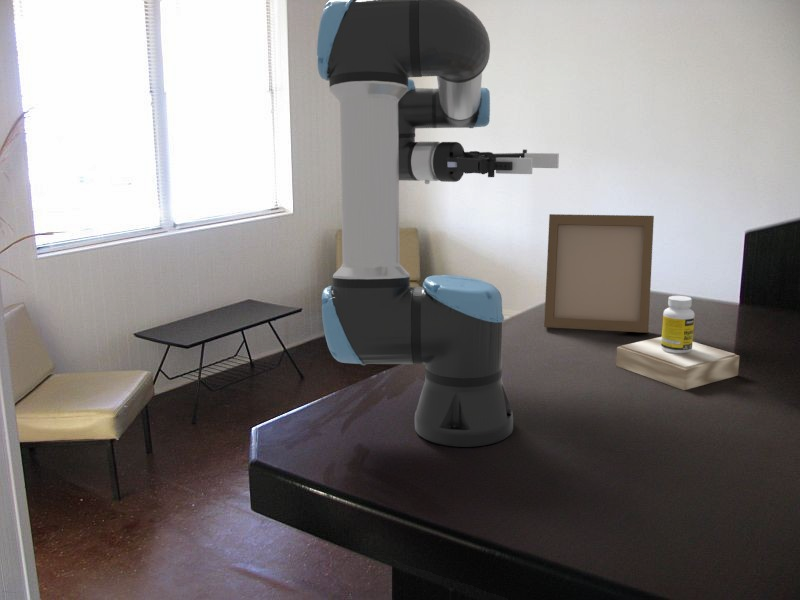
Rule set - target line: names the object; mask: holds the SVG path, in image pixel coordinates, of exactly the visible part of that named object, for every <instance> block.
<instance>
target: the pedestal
mask: <svg viewBox="0 0 800 600" xmlns="http://www.w3.org/2000/svg"><path fill="white" fill-rule="evenodd" d="M661 339H662V336H659V337H654V338H650V339H645V340H640V341H636V342H632V343H627V344H622V345H620V346H617V347H616V358H615V359H616V362H615V366H616V367H618V368H621V369H624V370H627V371H629V372H632V373H635V374H638V375H641V376H644V377H646V378H649V379H651V380H655V381H657V382H660V383H663V384H666V385H668V386H671V387H673V388H677V389H679V390H682V391H687V390H691V389H694V388H698V387H701V386H704V385H708V384H712V383H715V382H719V381H723V380H726V379H730V378H734V377H737V376H739V367H740V355H739V354H738V355H737V354H736V353H734V352H730V351H726V350H723V349H719V348H716V347H712V346H709V345H706V344H701V343H700V342H696V341H693V343H692V350H691V351H690V352H688V353H682V354H679V353H671V352H667V351H664V350H663V349H662V348H661Z"/></svg>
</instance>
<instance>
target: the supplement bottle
mask: <svg viewBox="0 0 800 600" xmlns="http://www.w3.org/2000/svg"><path fill="white" fill-rule="evenodd" d="M692 300H693V298H691V297H690V296H685V295H671V296H668V301H667V302H668V303H667V305H668V307H667V308H665V309H664V310H663V312H662V313H663V314H662V326H661V327H662V328H661V337H662V339H661V348H662V349H663V350H664V351H667V352H671V353H679V354H682V353H688V352H690V351H691V350H692V343H693V342H694V329H695V328H694V327H695V319H696V318H695V316H696V315H695V311H693V309H691V307H692V304H693V301H692Z"/></svg>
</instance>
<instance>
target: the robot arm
mask: <svg viewBox="0 0 800 600" xmlns="http://www.w3.org/2000/svg"><path fill="white" fill-rule="evenodd" d="M316 44H317V45H316V46H317V47H316V54H317V55H316V56H317V71H318V75H319V77H320V78H321V79H323V80H325V81H329V84H328V85H329V92H330V93H331V94H332V95H333V96H334V97H335V98H336V99H337V100H338V102H339V105H340V106H339V109H340V110H339V111H340V117H339V118H340V120H339V121H340V173H341V174H340V177H341V179H340V180H341V184H340V185H341V188H340V189H341V236H342V239H341V240H342V241H341V242H342V243H341V246H342V247H341V248H342V262H341V266H340V267H339V268H338V269H337V270H336V271H335V272H334V274H332V285H329V286H327V287H325V288H324V289H323V291H322V294H321V303H322V304H321V315H322V317H321V318H322V319H321V320H322V325H323V332H324V336H325V341H326V343H327V348H328V350H329V352H330V354H331V356H332V358H334V359H335V360H336V361H337V362H339V363H342V364H343V363H344V364H356V365H358V364H359V365H361V366H367V365H374V364H375V365H390V364H391V365H424V370H425V371H424V372H425V377H424V384H423V386H422V390H421V393H420V396H419V400H418V402H417V407H416V408H415V412H414V430H415V432H416V434H417V435H418V436H419V437H421V439H424V440H426V441H427V442H428V441H429V442H432V443H434V444H438V445H442V446H448V447H449V446H450V447H461V448H462V447H463V448H471V447H472V448H473V447H481V446H487V445H492V444H495V443H499V442H501V441H504V440H505V439H507V438H508V437H509V436H510V435H511V434H512V433H513V430H514V415H513V414H514V413H513V410H512V407H511V404H510V402H509V401H510V400H509V398H508V395H507V393H506V392H507V391H506V388H505V386H504V383H503V382H504V381H503V322H504V319H505V318H504V317H505V316H504V314H503V299H502V298H503V296H502V293H501V292H500V290H499V289H498V288H497V287H496V286H495V285H493V284H491V283H489V282H487V281H485V280H482V279H478V278H475V277H474V278H473V277H468V276H462V275H453V274H452V275H451V274H441V275H437V274H436V275H435V274H433V275H429V276H427V277H426V278H425V279H424V281H423V283H422V286H411V283H410V282H411V275H410V273H409V272H408V271H407V270H406V269H405V268H404V266H402V265H401V260H400V259H401V258H400V251H401V250H400V181H417V182H418V181H419V182H420V181H423V182H424V184H425V185H429V184H430V182H438V181H440V182H448V183H449V182H451V183H456V182H459V181H460V180H462V177H463V176H464V174H466V175H467V174H479V175H485V174H487V178H495V174H499V175H500V174H506V175H507V174H508V175H509V174H511V175H512V174H513V175H533V169H559V167H560V165H559V163H560V162H559V161H560V160H559V158H560V154H559V153H557V152H556V153H554V152H553V153H550V152H549V153H548V152H528V149H522V152H510V153H507V152H506V153H503V152H502V153H493V152H490V151H485V152H484V151H481V152H480V151H477V150H473V151H465V149H464V147H463V144H461V143H460V142H459V141H458V142H457V141H441V142H440V141H416V129H417V130H418V129H455V128H456V129H457V128H458V129H461V128H462V129H463V128H467V129H474V128H483V127H487V126H488V125H489V124H490V121H491V120H490V119H491V118H490V115H491V113H490V112H491V109H490V108H491V97H490V96H491V95H490V94H491V93H490V90H489V89H488V88H486V87H482V77H483V72H484V70H485V69H486V67H487V65H488V63H489V60H490V53H491V42H490V37H489V34H488V32H487V30H486V27H485V26H484V24H483V21H481V20H480V18H479V17H478V16H477V15H476V14H475V13H474V12H473V11H472V10H470V8H468V7H467V6H465V5H464V4H462V3H461V2H459V1H458V0H328V1H327V2H326V4H324V7H323V10H322V13H321V17H320V20H319V26H318V34H317V43H316ZM423 77H436V78H437V81H436V82H437V87H438V88H427V87H426V88H420V87H419V88H418V87H417V88H416V86H415V81H414V80H413V79H410V78H423Z"/></svg>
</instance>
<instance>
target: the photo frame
mask: <svg viewBox="0 0 800 600" xmlns="http://www.w3.org/2000/svg"><path fill="white" fill-rule="evenodd" d="M548 215H549V217H548V237H547V260H546V261H547V263H546V280H545V281H546V283H545V284H546V285H545V302H544V320H543V321H544V323H543V324H544V325H543V327H544V328H555V329H573V330H574V329H577V330H592V331H611V332H612V331H613V332H614V331H615V332H628V333H629V332H631V333H645V334H646V333H649V329H650V328H649V327H650V324H649V323H650V303H651V302H650V301H651V285H652V284H651V282H652V264H653V263H652V259H653V242H654V241H653V240H654V239H653V237H654V221H655V220H654V219H655V216H654V215H633V214H632V215H628V214H627V215H626V214H625V215H624V214H623V215H622V214H621V215H620V214H619V215H617V214H616V215H615V214H561V213H560V214H554V213H553V214H552V213H551V214H550V213H549V214H548Z"/></svg>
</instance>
